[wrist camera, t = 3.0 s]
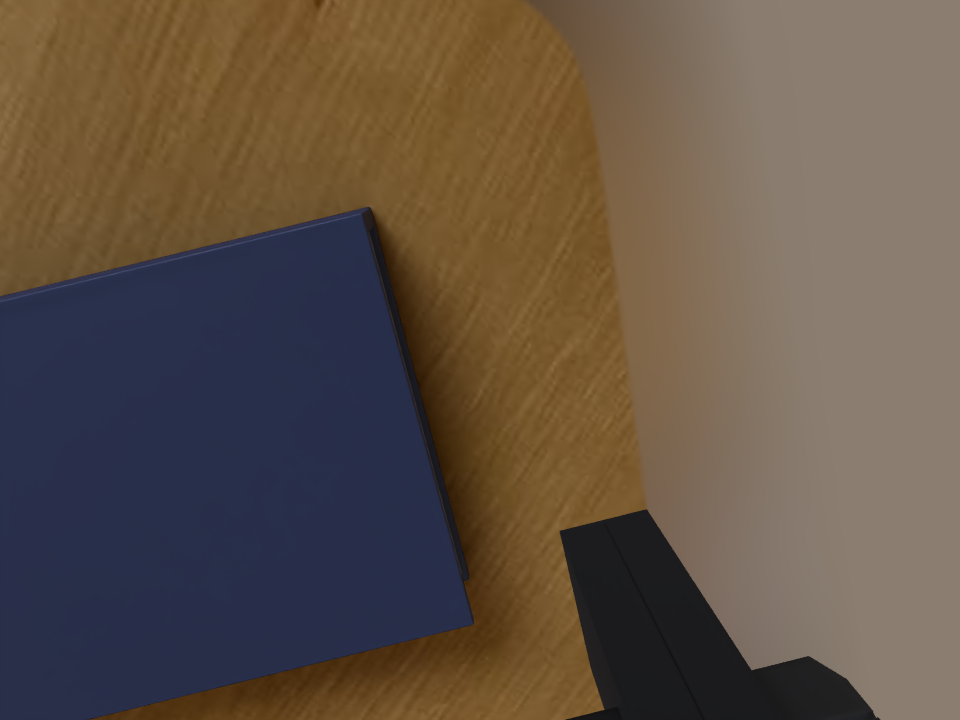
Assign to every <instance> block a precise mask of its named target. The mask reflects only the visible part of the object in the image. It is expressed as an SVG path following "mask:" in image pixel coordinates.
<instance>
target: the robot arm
mask: <svg viewBox="0 0 960 720" xmlns="http://www.w3.org/2000/svg"><path fill="white" fill-rule="evenodd" d="M560 535H561V539H562V544H563V548H564V552H565V557H566V561H567V565H568V570H569V574H570V579H571V583H572V587H573V592H574V596H575V601H576V605H577V609H578V614H579V618H580V622H581V627H582V631H583V636H584V640H585V644H586V649H587V653H588V658H589V662H590V666H591V670H592V673H593V676H594V679H595V682H596V685H597V688H598V691H599V694H600V697H601V700H602V703H603V706H604V709H605V710H602V711H598V712H594V713H590V714H586V715H582V716H578V717H574V718H570V719H566V720H880V719H879V718H876V717H875V715H874V713H873V710H872V709H871V708H870V707H869V706H868V704H867V703H866V702H865V701H864V700H863V698H862V697H861V696H860V695H859V693H858V692H857V691H856V690H855V689H854V687H853V686H852V685H851V684H850V683H849V681H848V680H847V679H846V678H844V677H842V676H841V675H839V674H837V673H836V672H834V671H832V670H831V669H829V668H828V667H826V666H824V665H822V664H821V663H819V662H818V661H816V660H814V659H813V658H811V657H809V656H807V657H803V658H799V659H795V660H791V661H787V662H783V663H779V664H775V665H771V666H768V667H763V668H759V669H755V670H751V669H750V667H749V666H748V664H747V663H746V661H745V660H744V658H743V657H742V655H741V653H740V652H739V650H738V649H737V647H736V646H735V644H734V643H733V641H732V640H731V638H730V637H729V635H728V633H727V632H726V630H725V629H724V627H723V626H722V624H721V623H720V621H719V620H718V618H717V617H716V615H715V614H714V612H713V610H712V609H711V607H710V606H709V604H708V603H707V601H706V600H705V598H704V597H703V595H702V593H701V592H700V590H699V589H698V587H697V586H696V584H695V583H694V581H693V580H692V578H691V577H690V575H689V573H688V572H687V570H686V569H685V567H684V566H683V564H682V563H681V561H680V560H679V558H678V557H677V555H676V553H675V552H674V550H673V549H672V547H671V546H670V544H669V543H668V541H667V540H666V538H665V537H664V535H663V534H662V532H661V530H660V529H659V527H658V526H657V524H656V523H655V521H654V520H653V518H652V517H651V515H650V514H649V512H648V510H647V509H646V510H642V511H638V512H634V513H630V514H626V515H622V516H618V517H614V518H610V519H606V520H602V521H598V522H594V523H590V524H586V525H582V526H578V527H573V528H569V529H565V530H561V531H560Z"/></svg>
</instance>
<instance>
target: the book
mask: <svg viewBox="0 0 960 720" xmlns="http://www.w3.org/2000/svg"><path fill="white" fill-rule="evenodd" d="M466 580H469V572H468V569H467V565H466V561H465V557H464V554H463V550H462V546H461V543H460V539H459V535H458V531H457V528H456V524H455V520H454V516H453V513H452V509H451V505H450V502H449V498H448V494H447V490H446V487H445V483H444V479H443V475H442V472H441V468H440V464H439V461H438V457H437V453H436V449H435V446H434V442H433V438H432V435H431V431H430V427H429V423H428V420H427V416H426V412H425V408H424V405H423V401H422V397H421V394H420V390H419V386H418V382H417V379H416V375H415V371H414V367H413V364H412V360H411V356H410V353H409V349H408V345H407V341H406V338H405V334H404V330H403V327H402V323H401V319H400V315H399V312H398V308H397V304H396V300H395V297H394V293H393V289H392V286H391V282H390V278H389V274H388V271H387V267H386V263H385V260H384V256H383V252H382V248H381V245H380V241H379V237H378V233H377V230H376V226H375V222H374V219H373V215H372V211H371V208H370V207H366V208H362V209H358V210H354V211H350V212H346V213H342V214H338V215H333V216H329V217H325V218H321V219H317V220H313V221H309V222H305V223H301V224H296V225H292V226H288V227H284V228H280V229H276V230H272V231H268V232H264V233H259V234H255V235H251V236H247V237H243V238H239V239H235V240H231V241H226V242H222V243H218V244H214V245H210V246H206V247H202V248H198V249H194V250H189V251H185V252H181V253H177V254H173V255H169V256H165V257H161V258H157V259H152V260H148V261H144V262H140V263H136V264H132V265H128V266H124V267H119V268H115V269H111V270H107V271H103V272H99V273H95V274H91V275H87V276H82V277H78V278H74V279H70V280H66V281H62V282H58V283H54V284H50V285H45V286H41V287H37V288H33V289H29V290H25V291H21V292H17V293H12V294H8V295H4V296H0V720H89V719H93V718H97V717H101V716H105V715H109V714H113V713H117V712H121V711H125V710H129V709H134V708H138V707H142V706H146V705H150V704H154V703H158V702H162V701H166V700H170V699H174V698H178V697H182V696H186V695H190V694H194V693H198V692H202V691H207V690H211V689H215V688H219V687H223V686H227V685H231V684H235V683H239V682H243V681H247V680H251V679H255V678H259V677H263V676H267V675H271V674H276V673H280V672H284V671H288V670H292V669H296V668H300V667H304V666H308V665H312V664H316V663H320V662H324V661H328V660H332V659H336V658H340V657H345V656H349V655H353V654H357V653H361V652H365V651H369V650H373V649H377V648H381V647H385V646H389V645H393V644H397V643H401V642H405V641H409V640H414V639H418V638H422V637H426V636H430V635H434V634H438V633H442V632H446V631H450V630H454V629H458V628H462V627H466V626H470V625H473V624H474V620H473V615H472V611H471V607H470V604H469V600H468V596H467V593H466V589H465V585H464V581H466Z"/></svg>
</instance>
